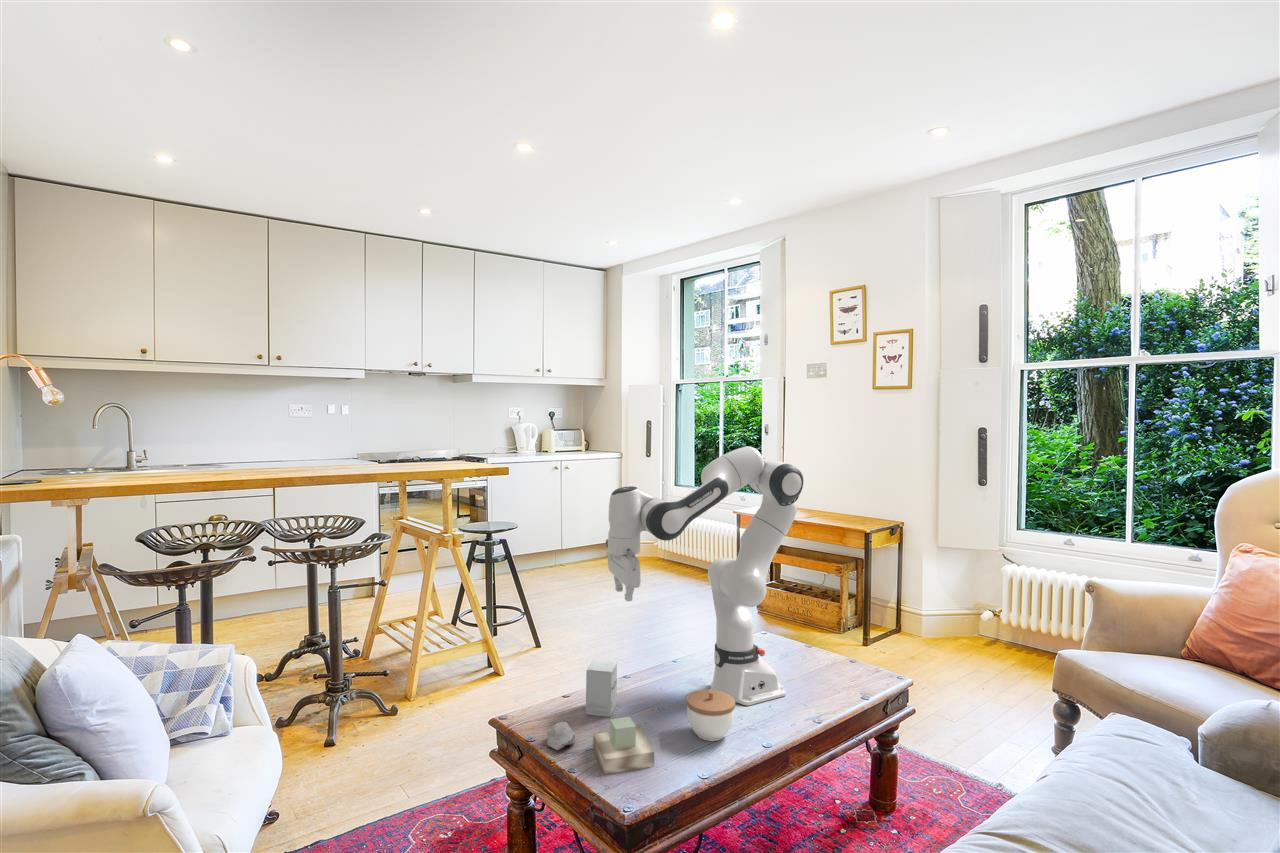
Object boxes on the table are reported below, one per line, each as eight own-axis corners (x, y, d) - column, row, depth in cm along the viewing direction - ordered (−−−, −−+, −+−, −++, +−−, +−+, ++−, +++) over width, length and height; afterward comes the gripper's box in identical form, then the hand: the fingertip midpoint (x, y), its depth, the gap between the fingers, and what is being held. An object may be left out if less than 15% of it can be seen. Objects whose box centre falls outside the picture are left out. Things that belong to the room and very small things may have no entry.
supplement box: (611, 717, 176) (611, 672, 175) (585, 714, 177) (585, 669, 177) (617, 705, 183) (617, 661, 183) (592, 703, 184) (592, 659, 184)
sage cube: (629, 736, 159) (629, 716, 159) (635, 746, 154) (635, 726, 154) (609, 739, 157) (610, 719, 157) (615, 749, 152) (615, 729, 152)
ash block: (639, 743, 163) (639, 727, 163) (653, 768, 152) (654, 751, 152) (593, 749, 160) (593, 734, 160) (604, 776, 148) (605, 759, 148)
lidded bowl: (708, 717, 176) (709, 678, 176) (744, 735, 167) (745, 693, 166) (676, 732, 168) (676, 691, 168) (712, 752, 158) (712, 708, 158)
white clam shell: (584, 743, 162) (584, 723, 162) (561, 757, 156) (562, 736, 156) (559, 732, 167) (559, 714, 167) (536, 745, 161) (537, 726, 161)
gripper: (646, 553, 168) (646, 605, 168) (625, 538, 187) (624, 585, 187) (623, 554, 166) (623, 607, 166) (604, 539, 185) (603, 586, 186)
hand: (623, 595), depth 177 cm, fingers open, 8 cm apart
